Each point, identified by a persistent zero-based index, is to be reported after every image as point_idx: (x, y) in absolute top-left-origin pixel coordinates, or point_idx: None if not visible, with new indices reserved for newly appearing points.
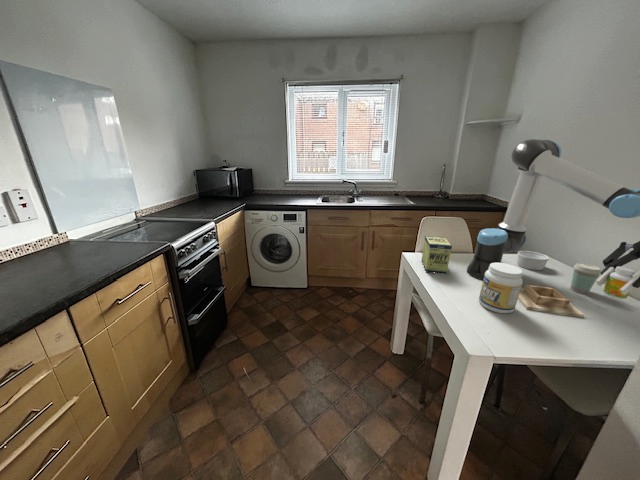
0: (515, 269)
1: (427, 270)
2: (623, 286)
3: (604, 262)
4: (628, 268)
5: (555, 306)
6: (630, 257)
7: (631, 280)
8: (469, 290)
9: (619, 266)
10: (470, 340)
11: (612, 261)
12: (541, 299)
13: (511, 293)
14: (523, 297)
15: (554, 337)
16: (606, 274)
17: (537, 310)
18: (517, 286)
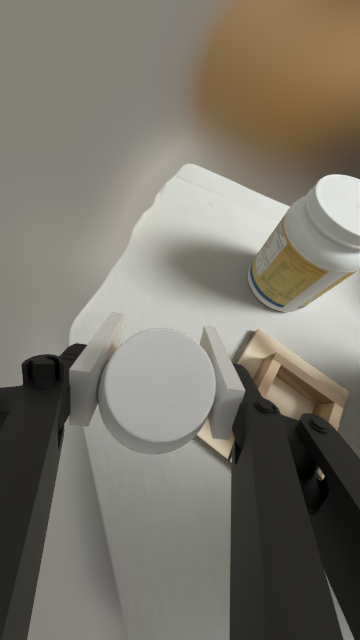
0: (346, 215)
1: None
2: (118, 320)
3: (308, 417)
4: (157, 417)
5: None
6: (258, 635)
7: (100, 341)
8: (338, 292)
9: (209, 396)
10: (204, 176)
11: (315, 515)
12: (268, 362)
13: (272, 234)
14: (296, 365)
15: (167, 278)
16: (212, 351)
17: (245, 348)
18: (284, 227)
